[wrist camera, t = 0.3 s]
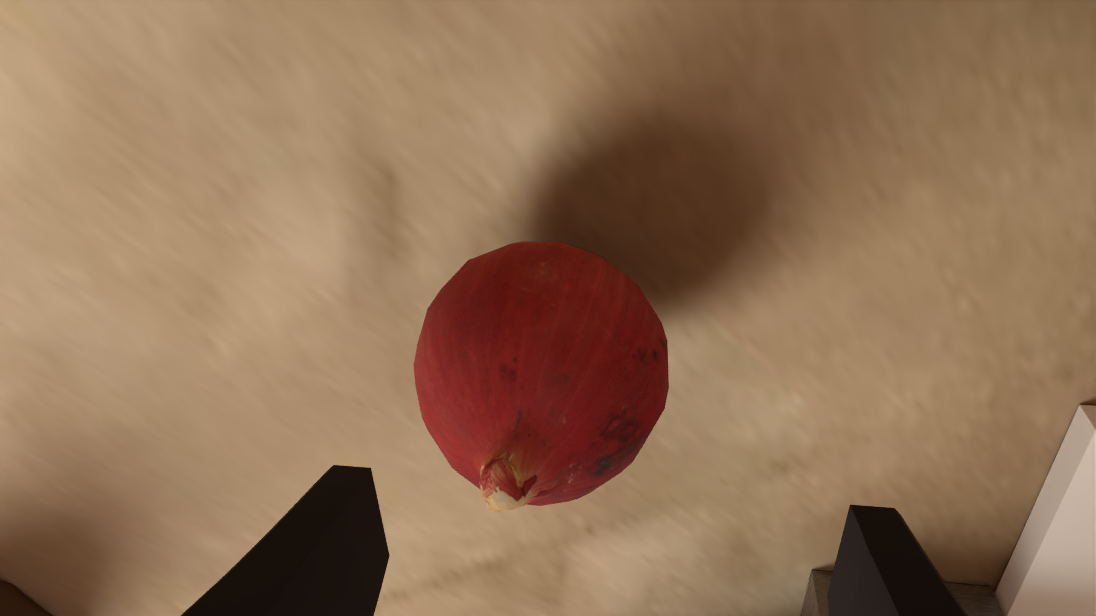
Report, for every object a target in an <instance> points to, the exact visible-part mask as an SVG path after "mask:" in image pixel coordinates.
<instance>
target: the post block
mask: <svg viewBox="0 0 1096 616" xmlns="http://www.w3.org/2000/svg"><path fill="white" fill-rule="evenodd" d="M995 596H996V598H997V601H998V603H999V606H1000V608H1001V611H1002V614H1003V616H1096V406H1091V405H1079V407H1078V409H1077V411H1076V414H1075V416H1074V418H1073V420H1072V423H1071V425H1070V427H1069V429H1068V431H1067V434H1066V436H1065V438H1064V440H1063V443H1062V445H1061V447H1060V449H1059V451H1058V454H1057V456H1056V458H1055V460H1054V463H1053V465H1052V467H1051V469H1050V471H1049V474H1048V476H1047V478H1046V480H1045V483H1044V485H1043V487H1042V489H1041V491H1040V494H1039V496H1038V498H1037V500H1036V503H1035V505H1034V507H1033V509H1032V511H1031V514H1030V516H1029V518H1028V520H1027V523H1026V525H1025V527H1024V529H1023V531H1022V534H1021V536H1020V538H1019V540H1018V543H1017V545H1016V547H1015V549H1014V551H1013V554H1012V556H1011V558H1010V560H1009V563H1008V565H1007V567H1006V569H1005V571H1004V574H1003V576H1002V578H1001V580H1000V583H999V585H998V587H997V589H996V591H995Z"/></svg>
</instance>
